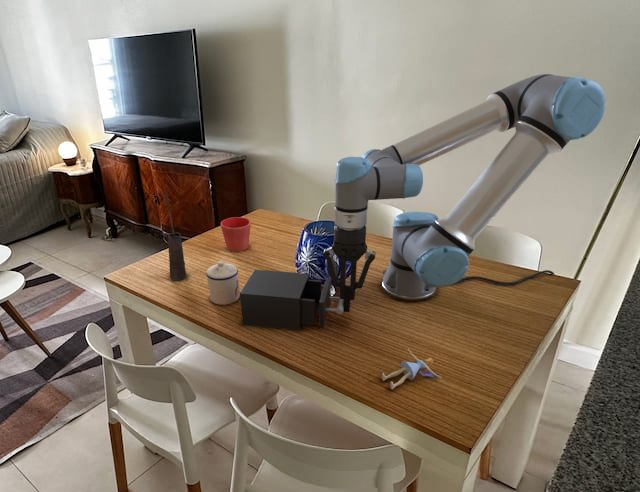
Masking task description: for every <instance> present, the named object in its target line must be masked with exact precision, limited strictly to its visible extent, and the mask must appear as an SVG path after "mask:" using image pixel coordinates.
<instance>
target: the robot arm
mask: <svg viewBox="0 0 640 492" xmlns="http://www.w3.org/2000/svg"><path fill="white" fill-rule="evenodd" d="M605 103H606V94H605V91H604V90H603V88H602V86H601V85H600V84H599V83H597V82H596V81H595V80H591V79H587V78H585V77H582V76H566V75H565V76H563V75H555V74H550V73H543V74H536V75H532V76H530V77H529V76H528V77H526V78H524V79H522V80H519V81H516V82H514V83H512V84H510V85H508V86H506V87H504V88H501V89H499V90H497V91H494V92H493V93H491V94H488V96H487V98H486V101H484V102H482V103H479V104H477V105H475V106H472V107H470V108H469V109H466V110H464V111H462V112H460V113H458V114H456V115H453V116H451V117H449V118H447V119H445V120H443V121H440V122H439V123H437V124H435V125H432V126H429V127H428V128H426V129H423V130H421V131H420V132H417V133H415V134H413V135H411V136H409V137H407V138H404V139H402V140H400V141H397V142H395V143H394V144H392V145H389V146H387V147H384V148H382V149H377V148H372V149H369V150H367V151H366V152H365V153H363V154H362V156H347V157H346V156H345V157H343V158H341V159H339V160H338V161H337V163H336V168H335V177H334V183H335V186H334V188H335V189H334V190H335V193H334V227H333V228H334V229H333V242H332V245H331V246H330V247H328V248H327V247H326V248H324V250H323V252H322V256H323V257H324V260H326V263H327V267H328V271H329V276H330V279H331V285H332V286H333V287H335V288H336V287H337V288H338V289H339V297H340V299H342V300H344V308H343V313H348V314H349V313H350V310H351V301H355V299H356V290H357V289H359V290H361V289H363V286H364V283H365V281H366V278H367V275H368V272H369V269H370V266H371V264H372V263H373V262H374V261H375V259H376V251H375V250H370V249H369V248H368V245H367V242H366V241H367V240H366V239H367V226H366V225H367V223H368V210H369V209H368V208H369V205H368V204H369V201H377V200H378V201H381V200H396V199H397V200H398V199H403V200H404V199H407V198H415V197H417V196H419V195H420V193H421V191H422V189H423V184H424V174H423V170H422V168H421V165H423V164H426V163H428V162H430V161H432V160H434V159H437V158H439V157H441V156H444V155H446V154H449V153H450V152H452V151H454V150H457V149H459V148H461V147H463V146H465V145H468V144H470V143H472V142H475V141H476V140H480V139H481V138H483V137H485V136H487V135H490V134H492V133H494V132H500V133H504V132H506V131H508V130H510V129H513V128H515V133H514V134H513V135H512V137H511V138H510V139H509V140H508V141H507V143H506V144H505V145H504V146H503V148H502V149H501V150H500V151H499V153H498V154H497V155H496V156H495V158H493V160H492V161H491V162H490V163H489V165H488V166H487V167H486V168H485V170H483V172H482V173H481V174H480V175H479V177H478V178H477V179H476V181H474V183H473V184H472V185H471V186H470V188H469V189H468V190H467V192H465V194H464V195H463V196H462V198H460V200H459V201H458V202H457V203H456V204H455V206H454V207H453V208H452V210H451V211H450V212H449V213H448V214H447V216H445V217H444V218H440V217H439V216H438V215H437V214H435V213H432V212H427V211H407V212H406V211H405V212H402V213H399V214H397V215H396V216H395V217H394V221H393V225H392V238H391V252H390V263H389V265H388V268H385V269H383V271H382V276H383V278H382V283H381V289H382V291H383V292H384V293H385V294H386V295H387V296H389V297H391V298H393V299H396V300H399V301H403V302H423V301H427V300H430V299H431V298H433V297H434V296H435V295H436V291H437V288H444V287H450V286H453V285H455V284H458V283H461V282H463V281H466V280H481V281H482V280H483V281H487V282H490V283H493V284H496V285H497V284H498V285H502V286H503V285H504V286H508V285H509V286H513V285H517V284H519V283H522V282H523V281H526V280H528V279H531V278H534V277H538V276H539V275H542V274H545V273H546V274H547V273H548V274H550V275H551V276H555V274H556V273H554V271H552V270H548V269H545V270H541V271H538V272H536V273H534V274H530V275H527V276H523V277H522V278H520V279H518V280H516V281H515V280H514V281H500V280H495V279H491V278H488V277H483V276H477V275H472V276H471V275H470V276H465V275H466V274H467V272H468V271H469V264H470V260H469V256H470V255H471V254H472V253H473V252H474V250H475V249H476V246H475V245H476V243H475V240H476V238H477V237H479V235H480V234H481V232H483V230H484V229H485V228H486V227H487V226H488V224H489V223H490V222H491V221H492V220H494V218H495V217H496V216H497V214H498V213H499V212H500V211H501V210H502V208H503V207H504V206H505V205H506V204H507V203H508V201H509V200H510V199H511V198H512V197H513V196H514V195H515V193H516V192H517V191H518V190H519V189H520V188H521V187H522V186H523V184H524V183H525V182H526V181H527V180H528V179H529V177H530V176H531V175H532V174H533V172H535V171H536V169H537V168H538V167H539V166H540V165H541V163H543V162H544V160H545V159H546V158H547V157H548V156H549V155H551V154H556V153H560V152H561V151H562V150H563V149H564V148H565V147H566V146H567V145H568V143H569V142H570V141H574V140H579V139H582V138H586V137H587V136H589V135H590V134H591V133H592V132H594V131H595V130H596V129H597V128H598V127H599V125H600V123H601V122H602V119H603V117H604V114H605V110H606V106H605ZM334 254H335V255H336V257H337V258H338V260H340V262H339V263H340V265H339V267H340V268H339V272H340V273H339V276H338V270H337V268H336V262H335V258H334ZM363 256H364V259H365V261H364V264H363V267H362V270H361V272H360V275H359V278H358V281H357V267H358V261H359V260H360V259H361V258H363ZM347 262H349V263H350V278H349V279H350V280H349V281H350V283H349V285H348V284H346V283H347V279H346V278H347Z"/></svg>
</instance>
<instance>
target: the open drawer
mask: <svg viewBox="0 0 640 492" xmlns="http://www.w3.org/2000/svg"><path fill="white" fill-rule="evenodd" d="M331 300H336V301H338V302H337V307H336V308H332V307H331ZM330 307H331V308H330ZM343 310H344V300H342V299H340V296H333V295H332V280H331V278H326V280H325V282H324V285H323V289H322V279H321V280H319V279H310V278H309V279H308V280H307V283H306V285H305V288H304V291H303V293H302V296H301V298H300V324H302V325H309V326H315V325H316V322H317V318H318V329H322V330H324V329H325V325H326V323H327V322H326V321H327V318H328V316H329V315H328V314H329V312H334V313H337V314H338V315H342V314H343V313H344V312H343Z"/></svg>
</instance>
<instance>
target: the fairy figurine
mask: <svg viewBox="0 0 640 492" xmlns="http://www.w3.org/2000/svg"><path fill="white" fill-rule="evenodd" d="M407 351H408V352H409V354H410V355H411V356H412V357H413V358H414V359H415V361H416V362H411V361H405V360H403V361H401V362H400V369H398V370H395V371H393V372H390V373H389V374H388V375H385V372H382V373H381V380H382V382H384V381H387V380H388V379H390V378H394V377H397V376H399V375H400V374H401V373H403V374H404V375H403V376H401V378H400V379H399V380H398V381H397V382H395V383H394V382H393V381H390V382H389V388H390V390H394V389H395V388H397V387H398V386H401V385H402V384H403V383H404V382H405V381H406V379H408V380H410V381H412V380H414V379H415V377H416V375H417V373H418V372H419V373H420V374H421V376H423V377H426V376H427V377H431V378H434V377H437V378H438V379H440V380H443V377H442V376H441V375H438V374H436V372H434V371H433V370H432V369H431V368H430V366H432V365H433V363H434V360H433V358H432V357H428V358H425V359H420V358H417V356H416V355H415V354H413V352H412V351H411V349H410V348H409V347H407ZM422 370H424V372H423V371H422Z"/></svg>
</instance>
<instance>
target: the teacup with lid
mask: <svg viewBox="0 0 640 492" xmlns="http://www.w3.org/2000/svg"><path fill="white" fill-rule="evenodd" d="M238 274H239V269H238V267H237V266H236V265H234V264H232V263H228V262H225V261H223V260H219V261H218V262H217V263H216V264H213V265H211V266H209V267H208V268H207V270H206V273H205V276H206V277H207V284H208V291H209V298H210V301H211V302H212V303H214V304H215V305H220V306H221V305H222V306H224V305H231V304H234V303H235V302H237V301H238V300H240V287H239V286H240V285H239V275H238Z"/></svg>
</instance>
